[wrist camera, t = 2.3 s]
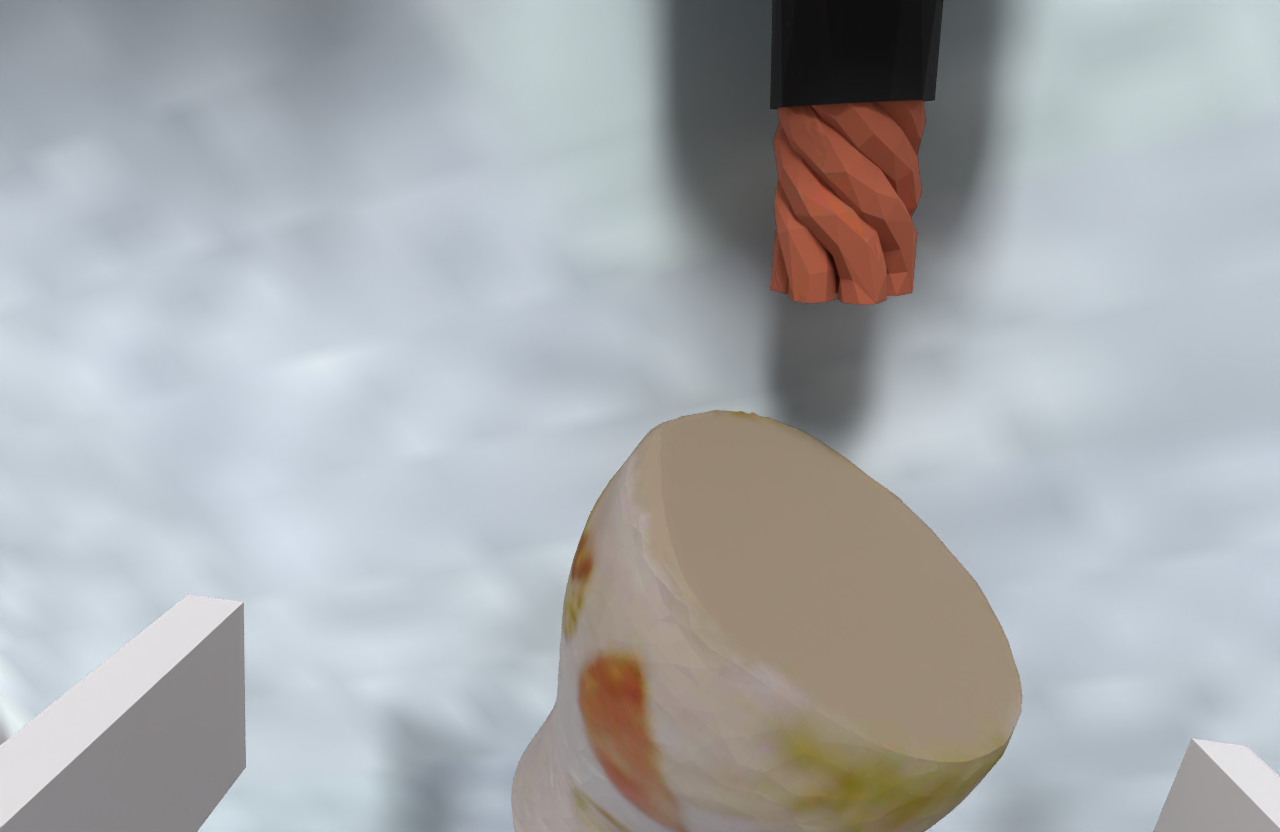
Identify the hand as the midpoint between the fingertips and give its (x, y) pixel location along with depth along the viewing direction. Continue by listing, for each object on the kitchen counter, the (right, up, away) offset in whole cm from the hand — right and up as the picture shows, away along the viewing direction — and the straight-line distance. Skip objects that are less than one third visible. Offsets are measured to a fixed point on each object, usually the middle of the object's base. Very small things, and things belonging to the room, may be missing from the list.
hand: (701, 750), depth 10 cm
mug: (+1, 0, +6) cm, 6 cm away
